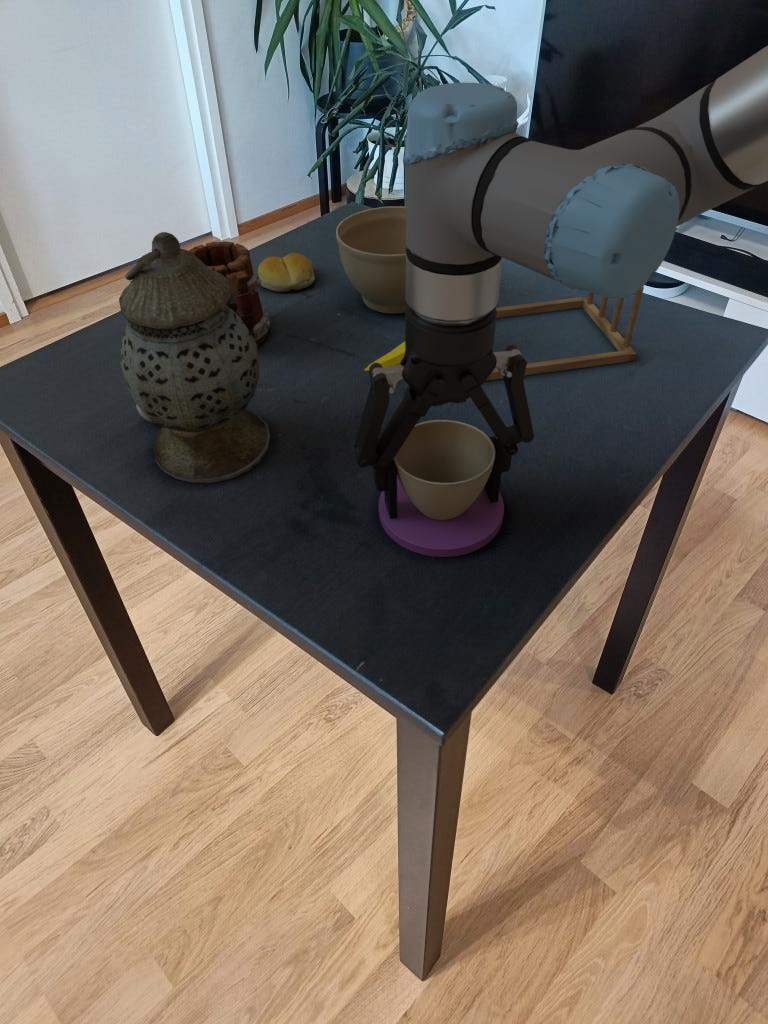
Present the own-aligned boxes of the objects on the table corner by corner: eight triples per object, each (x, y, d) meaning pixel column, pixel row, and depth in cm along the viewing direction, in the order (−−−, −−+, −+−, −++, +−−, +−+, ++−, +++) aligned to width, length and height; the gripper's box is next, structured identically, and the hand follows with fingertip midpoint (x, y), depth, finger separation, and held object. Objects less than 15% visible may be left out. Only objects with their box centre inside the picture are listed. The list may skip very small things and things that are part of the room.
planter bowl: (324, 288, 111) (318, 218, 103) (417, 267, 115) (418, 198, 108) (366, 337, 100) (363, 263, 93) (466, 311, 105) (471, 238, 97)
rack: (634, 360, 94) (651, 293, 88) (482, 381, 92) (488, 313, 85) (585, 303, 106) (598, 240, 99) (449, 320, 103) (452, 256, 96)
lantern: (166, 499, 77) (100, 285, 59) (135, 424, 86) (70, 218, 68) (287, 461, 81) (261, 251, 63) (247, 393, 90) (213, 192, 72)
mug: (249, 302, 107) (241, 208, 95) (293, 358, 101) (290, 265, 89) (175, 324, 103) (157, 229, 91) (216, 384, 96) (201, 290, 84)
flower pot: (505, 492, 75) (512, 438, 70) (460, 552, 69) (465, 497, 64) (423, 460, 79) (425, 407, 74) (374, 514, 73) (372, 460, 68)
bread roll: (256, 273, 115) (252, 249, 112) (311, 267, 116) (308, 243, 113) (260, 297, 109) (256, 272, 106) (318, 290, 110) (315, 265, 107)
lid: (520, 545, 71) (522, 537, 70) (393, 567, 69) (393, 559, 68) (481, 463, 80) (482, 455, 79) (368, 480, 78) (367, 472, 78)
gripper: (563, 268, 62) (531, 462, 78) (308, 298, 59) (328, 493, 75) (599, 309, 57) (557, 509, 73) (321, 344, 54) (339, 544, 70)
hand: (441, 501), depth 74 cm, fingers closed on flower pot, 10 cm apart
